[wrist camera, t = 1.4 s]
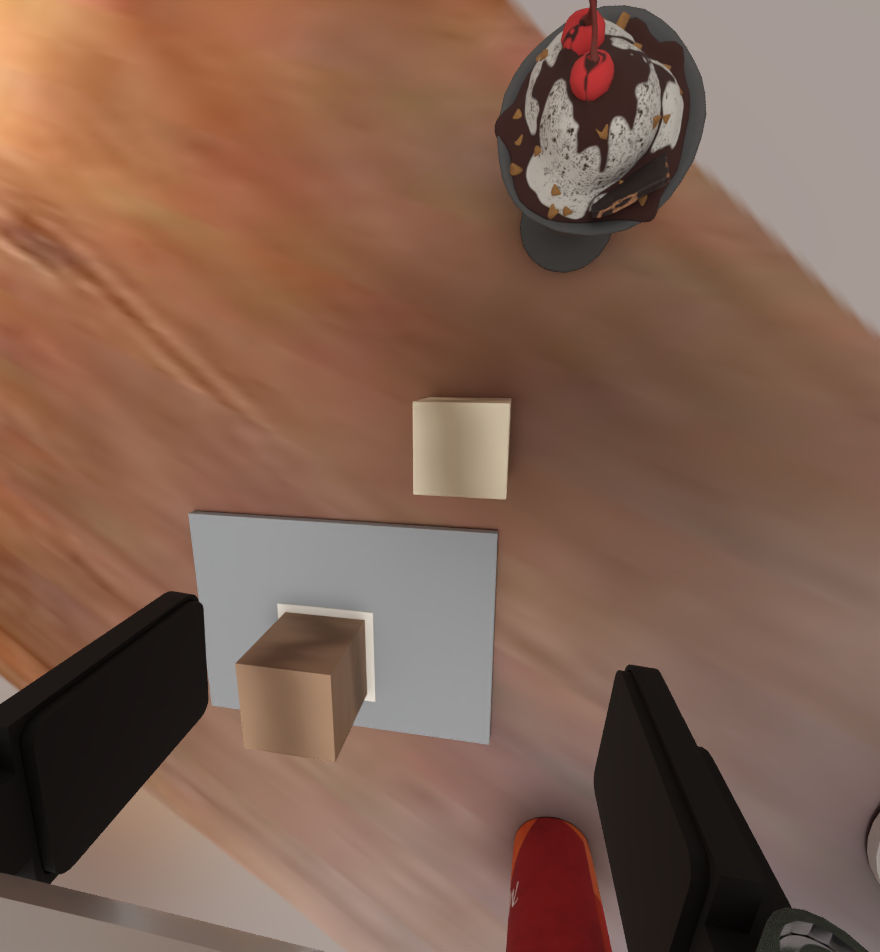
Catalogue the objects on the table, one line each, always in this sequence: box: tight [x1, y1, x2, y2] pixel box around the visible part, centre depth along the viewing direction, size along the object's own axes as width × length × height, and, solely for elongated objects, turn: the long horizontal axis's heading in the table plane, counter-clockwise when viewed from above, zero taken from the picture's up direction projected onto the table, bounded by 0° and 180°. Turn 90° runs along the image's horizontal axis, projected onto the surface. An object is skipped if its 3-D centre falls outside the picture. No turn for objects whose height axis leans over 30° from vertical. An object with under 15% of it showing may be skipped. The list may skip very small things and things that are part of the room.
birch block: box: [413, 397, 511, 499], centre depth 26 cm, size 5×5×5 cm
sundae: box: [495, 0, 706, 272], centre depth 17 cm, size 7×7×15 cm
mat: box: [188, 511, 498, 745], centre depth 32 cm, size 22×16×1 cm
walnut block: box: [235, 612, 367, 762], centre depth 30 cm, size 6×6×6 cm
